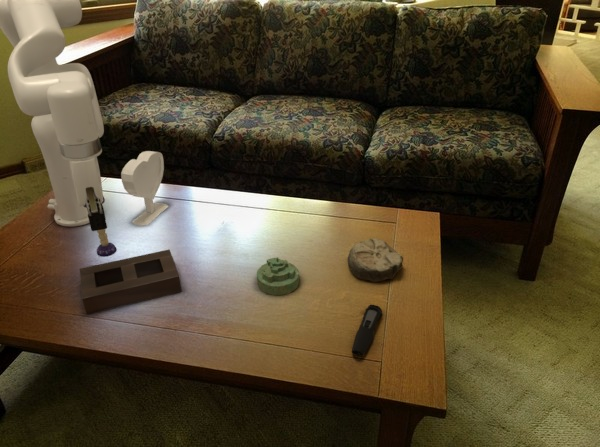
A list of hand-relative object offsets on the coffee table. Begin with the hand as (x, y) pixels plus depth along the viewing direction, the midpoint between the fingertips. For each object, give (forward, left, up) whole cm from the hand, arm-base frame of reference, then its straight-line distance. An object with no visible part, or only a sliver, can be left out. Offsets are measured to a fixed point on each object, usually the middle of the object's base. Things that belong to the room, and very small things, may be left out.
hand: (98, 224), depth 112 cm
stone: (+59, +23, -18) cm, 65 cm away
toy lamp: (0, 0, -7) cm, 7 cm away
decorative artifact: (+37, +12, -18) cm, 43 cm away
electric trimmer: (+59, -1, -18) cm, 62 cm away
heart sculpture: (-8, +35, -18) cm, 40 cm away
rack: (+4, +2, -18) cm, 19 cm away
